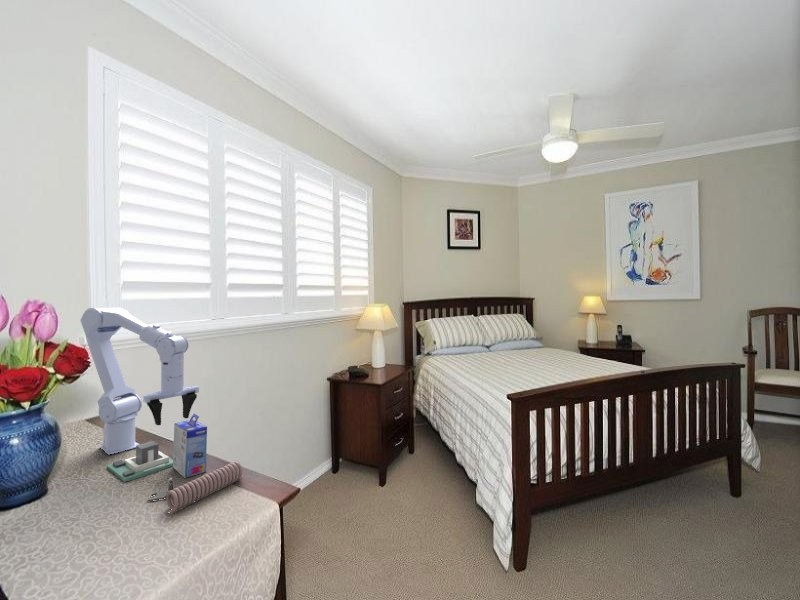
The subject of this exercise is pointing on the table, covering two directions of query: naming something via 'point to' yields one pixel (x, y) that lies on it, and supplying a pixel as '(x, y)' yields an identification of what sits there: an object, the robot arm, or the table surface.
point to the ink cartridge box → (190, 447)
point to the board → (139, 467)
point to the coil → (203, 486)
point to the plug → (146, 452)
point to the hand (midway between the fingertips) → (172, 421)
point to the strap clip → (162, 494)
